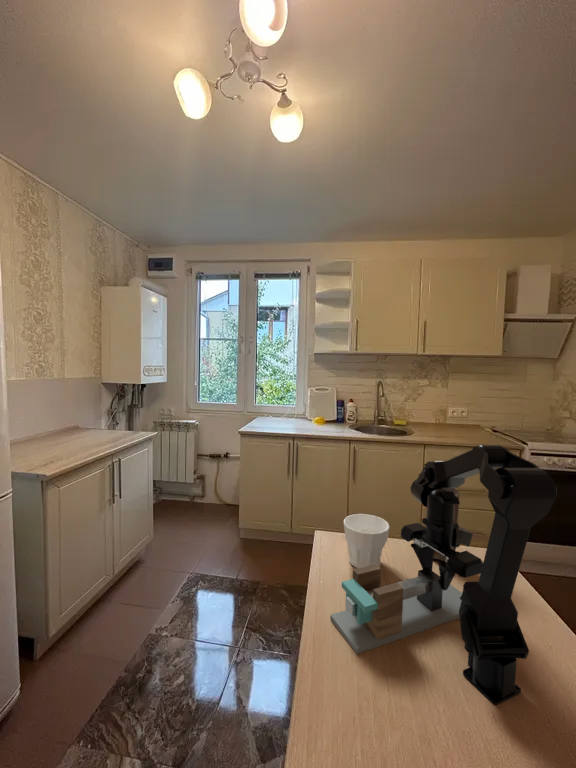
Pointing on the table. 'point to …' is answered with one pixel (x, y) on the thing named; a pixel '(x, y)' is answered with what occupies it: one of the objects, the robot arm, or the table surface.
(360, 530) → the cup
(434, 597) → the shaft
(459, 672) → the table surface
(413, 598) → the base board
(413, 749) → the table surface
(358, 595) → the spacer
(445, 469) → the robot arm
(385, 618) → the bearing block
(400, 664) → the table surface
